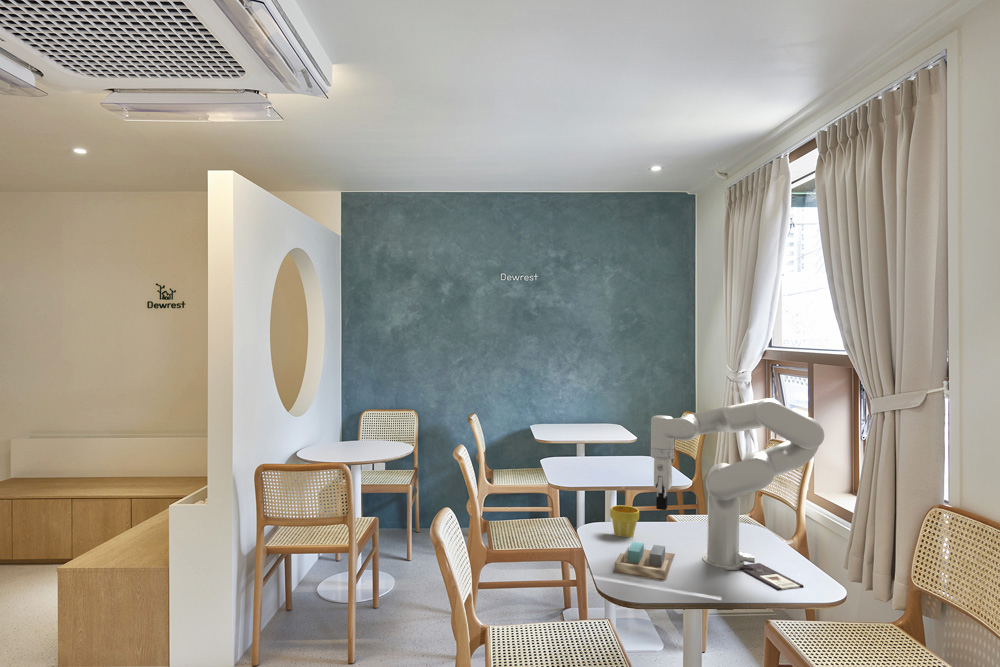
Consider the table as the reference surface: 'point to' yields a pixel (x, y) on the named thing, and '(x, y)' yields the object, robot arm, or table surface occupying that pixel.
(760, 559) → the table surface
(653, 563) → the grey rectangular block
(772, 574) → the chocolate bar
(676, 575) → the table surface
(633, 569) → the comb board
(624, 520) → the plant pot
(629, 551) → the aqua foam brick
